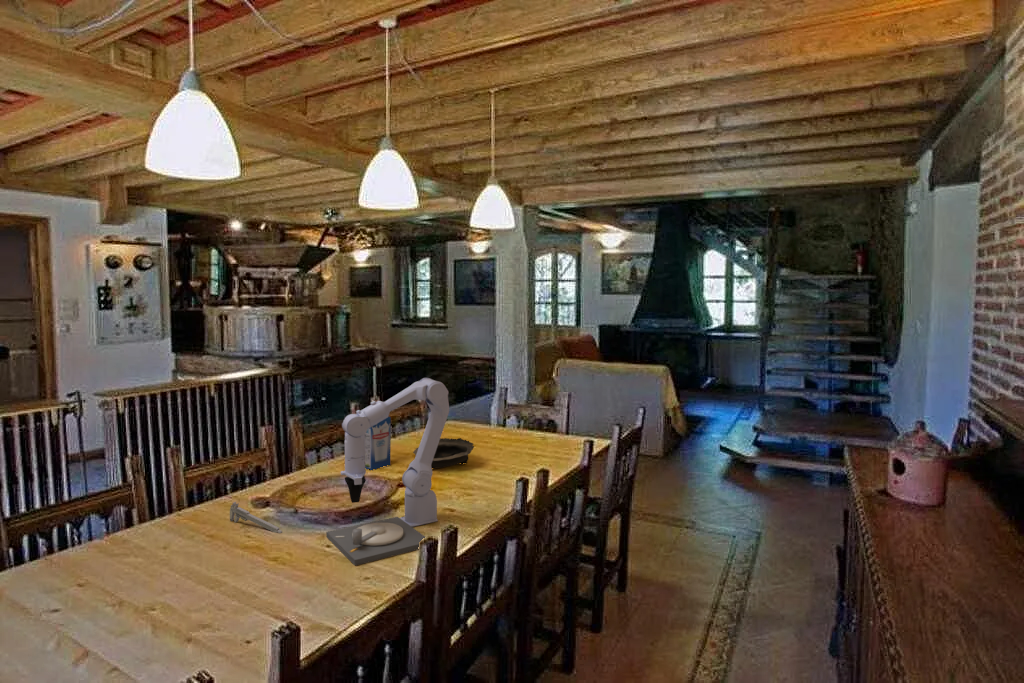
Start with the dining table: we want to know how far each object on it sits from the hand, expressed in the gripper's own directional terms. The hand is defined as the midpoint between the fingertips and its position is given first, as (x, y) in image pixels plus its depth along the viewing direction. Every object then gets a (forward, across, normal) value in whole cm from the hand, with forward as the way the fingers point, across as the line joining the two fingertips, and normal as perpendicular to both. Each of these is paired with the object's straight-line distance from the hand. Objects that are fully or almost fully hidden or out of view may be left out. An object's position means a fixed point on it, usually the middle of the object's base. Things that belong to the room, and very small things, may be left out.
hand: (355, 501), depth 175 cm
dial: (+7, +10, +4) cm, 13 cm away
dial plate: (+9, +9, +5) cm, 14 cm away
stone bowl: (+10, -59, +43) cm, 74 cm away
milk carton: (+10, -66, +16) cm, 69 cm away
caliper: (+9, -14, -27) cm, 32 cm away
